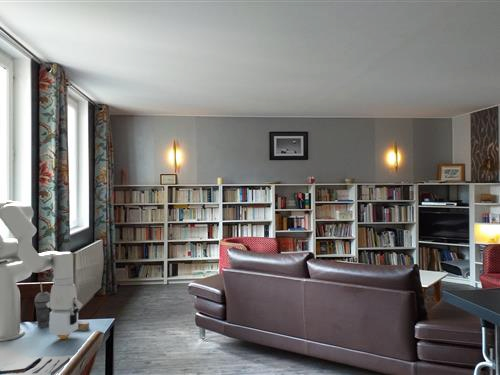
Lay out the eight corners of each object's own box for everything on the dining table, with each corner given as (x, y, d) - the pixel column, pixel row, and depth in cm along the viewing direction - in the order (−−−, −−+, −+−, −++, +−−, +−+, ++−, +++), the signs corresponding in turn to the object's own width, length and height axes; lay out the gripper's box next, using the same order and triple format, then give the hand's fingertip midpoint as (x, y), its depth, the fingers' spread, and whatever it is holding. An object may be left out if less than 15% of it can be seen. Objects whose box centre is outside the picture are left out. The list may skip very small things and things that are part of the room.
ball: (64, 328, 164) (59, 340, 161) (57, 324, 161) (52, 336, 158) (74, 329, 163) (69, 341, 160) (67, 325, 159) (62, 337, 156)
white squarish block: (49, 334, 157) (49, 312, 158) (62, 327, 165) (62, 307, 165) (66, 335, 156) (65, 313, 156) (78, 328, 163) (78, 307, 164)
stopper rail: (66, 329, 171) (66, 322, 171) (69, 327, 173) (69, 321, 173) (86, 330, 169) (86, 324, 169) (89, 329, 171) (89, 322, 171)
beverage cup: (44, 328, 172) (44, 284, 172) (30, 327, 174) (30, 283, 174) (55, 323, 179) (55, 280, 179) (42, 322, 181) (41, 280, 181)
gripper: (39, 283, 159) (40, 325, 159) (76, 284, 155) (77, 327, 155) (51, 279, 166) (52, 319, 166) (87, 279, 163) (88, 321, 163)
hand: (64, 323), depth 161 cm, fingers closed on white squarish block, 7 cm apart
